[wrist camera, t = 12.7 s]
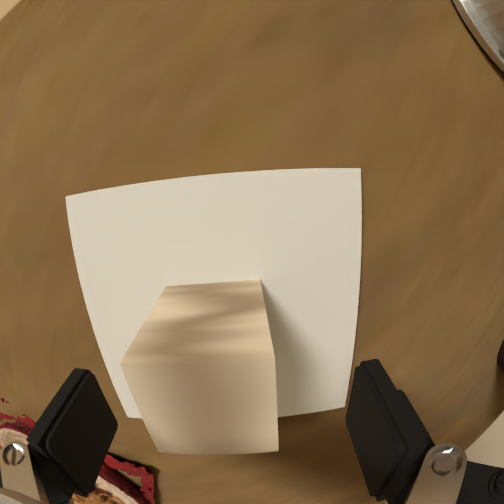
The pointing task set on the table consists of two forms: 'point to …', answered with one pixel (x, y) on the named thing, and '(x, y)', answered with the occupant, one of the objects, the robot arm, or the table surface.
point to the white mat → (232, 265)
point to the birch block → (206, 370)
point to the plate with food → (109, 481)
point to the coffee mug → (501, 357)
